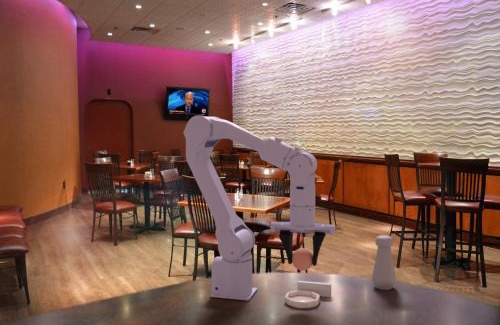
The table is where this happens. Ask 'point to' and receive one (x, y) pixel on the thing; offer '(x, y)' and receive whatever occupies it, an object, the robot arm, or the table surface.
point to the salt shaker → (384, 264)
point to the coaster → (302, 299)
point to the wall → (315, 287)
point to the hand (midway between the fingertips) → (302, 263)
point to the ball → (302, 259)
